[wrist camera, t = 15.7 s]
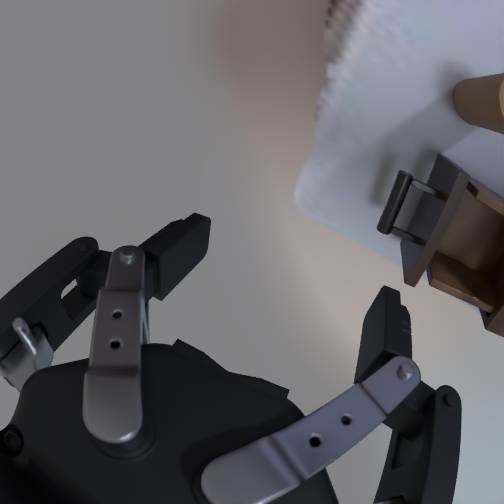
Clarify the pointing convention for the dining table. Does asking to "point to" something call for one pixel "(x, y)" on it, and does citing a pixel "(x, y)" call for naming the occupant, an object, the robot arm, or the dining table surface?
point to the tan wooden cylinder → (481, 101)
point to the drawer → (451, 234)
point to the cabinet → (494, 319)
